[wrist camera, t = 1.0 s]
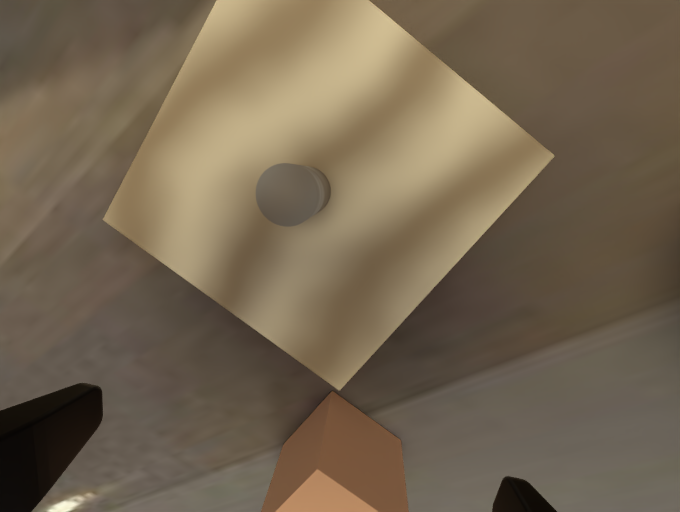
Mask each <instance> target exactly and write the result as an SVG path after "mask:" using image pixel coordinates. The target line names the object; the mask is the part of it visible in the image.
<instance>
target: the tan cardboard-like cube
mask: <svg viewBox="0 0 680 512" xmlns="http://www.w3.org/2000/svg"><path fill="white" fill-rule="evenodd" d="M261 512H408V502H407V493H406V483H405V474H404V464H403V455H402V446H401V440H400V439H399V438H397V437H396V436H394V435H393V434H392V433H390V432H389V431H387V430H386V429H385V428H383V427H382V426H381V425H379V424H378V423H376V422H375V421H374V420H372V419H371V418H369V417H368V416H367V415H365V414H364V413H363V412H361V411H360V410H358V409H357V408H356V407H354V406H353V405H351V404H350V403H349V402H347V401H346V400H344V399H343V398H342V397H340V396H339V395H338V394H336V393H335V392H333V391H331V393H330V394H329V395H328V396H327V397H326V398H325V399H324V400H323V401H322V402H321V404H320V405H319V406H318V407H317V408H316V409H315V410H314V411H313V412H312V413H311V415H310V416H309V417H308V418H307V419H306V420H305V421H304V422H303V423H302V424H301V426H300V427H299V428H298V429H297V430H296V431H295V432H294V433H293V434H292V435H291V437H290V438H289V439H288V440H287V441H286V442H285V443H284V444H283V447H282V450H281V453H280V456H279V459H278V462H277V465H276V468H275V471H274V474H273V477H272V480H271V483H270V486H269V489H268V492H267V495H266V498H265V501H264V504H263V507H262V510H261Z"/></svg>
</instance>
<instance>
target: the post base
mask: <svg viewBox="0 0 680 512" xmlns="http://www.w3.org/2000/svg"><path fill="white" fill-rule="evenodd" d="M553 157H554V155H553V154H552V153H551V152H550V151H548V150H547V149H546V148H545V147H544V146H542V145H541V144H540V143H539V142H538V141H536V140H535V139H534V138H533V137H532V136H530V135H529V134H528V133H527V132H526V131H525V130H523V129H522V128H521V127H520V126H519V125H517V124H516V123H515V122H514V121H513V120H511V119H510V118H509V117H508V116H507V115H505V114H504V113H503V112H502V111H501V110H499V109H498V108H497V107H496V106H495V105H493V104H492V103H491V102H490V101H489V100H487V99H486V98H485V97H484V96H483V95H481V94H480V93H479V92H478V91H477V90H475V89H474V88H473V87H472V86H471V85H469V84H468V83H467V82H466V81H465V80H463V79H462V78H461V77H460V76H459V75H458V74H456V73H455V72H454V71H453V70H452V69H450V68H449V67H448V66H447V65H446V64H444V63H443V62H442V61H441V60H440V59H438V58H437V57H436V56H435V55H434V54H432V53H431V52H430V51H429V50H428V49H426V48H425V47H424V46H423V45H422V44H420V43H419V42H418V41H417V40H416V39H414V38H413V37H412V36H411V35H410V34H408V33H407V32H406V31H405V30H404V29H402V28H401V27H400V26H399V25H398V24H397V23H395V22H394V21H393V20H392V19H391V18H389V17H388V16H387V15H386V14H385V13H383V12H382V11H381V10H380V9H379V8H377V7H376V6H375V5H374V4H373V3H371V2H370V1H369V0H217V1H216V3H215V5H214V7H213V9H212V11H211V12H210V14H209V16H208V18H207V20H206V22H205V24H204V26H203V28H202V30H201V32H200V34H199V36H198V38H197V39H196V41H195V43H194V45H193V47H192V49H191V51H190V53H189V55H188V57H187V59H186V61H185V63H184V64H183V66H182V68H181V70H180V72H179V74H178V76H177V78H176V80H175V82H174V84H173V86H172V88H171V89H170V91H169V93H168V95H167V97H166V99H165V101H164V103H163V105H162V107H161V109H160V111H159V113H158V114H157V116H156V118H155V120H154V122H153V124H152V126H151V128H150V130H149V132H148V134H147V136H146V138H145V140H144V141H143V143H142V145H141V147H140V149H139V151H138V153H137V155H136V157H135V159H134V161H133V163H132V165H131V166H130V168H129V170H128V172H127V174H126V176H125V178H124V180H123V182H122V184H121V186H120V188H119V190H118V191H117V193H116V195H115V197H114V199H113V201H112V203H111V205H110V207H109V209H108V211H107V213H106V215H105V217H104V218H103V220H104V221H105V222H107V223H108V224H109V225H111V226H112V227H113V228H115V229H116V230H118V231H119V232H120V233H122V234H123V235H125V236H126V237H127V238H129V239H130V240H131V241H133V242H134V243H136V244H137V245H138V246H140V247H141V248H143V249H144V250H145V251H147V252H148V253H149V254H151V255H152V256H154V257H155V258H156V259H158V260H159V261H161V262H162V263H163V264H165V265H166V266H167V267H169V268H170V269H172V270H173V271H174V272H176V273H177V274H179V275H180V276H181V277H183V278H184V279H185V280H187V281H188V282H190V283H191V284H192V285H194V286H195V287H197V288H198V289H199V290H201V291H202V292H203V293H205V294H206V295H208V296H209V297H210V298H212V299H213V300H215V301H216V302H217V303H219V304H220V305H221V306H223V307H224V308H226V309H227V310H228V311H230V312H231V313H233V314H234V315H235V316H237V317H238V318H239V319H241V320H242V321H244V322H245V323H246V324H248V325H249V326H251V327H252V328H253V329H255V330H256V331H257V332H259V333H260V334H262V335H263V336H264V337H266V338H267V339H269V340H270V341H271V342H273V343H274V344H275V345H277V346H278V347H280V348H281V349H282V350H284V351H285V352H287V353H288V354H289V355H291V356H292V357H293V358H295V359H296V360H298V361H299V362H300V363H302V364H303V365H305V366H306V367H307V368H309V369H310V370H311V371H313V372H314V373H316V374H317V375H318V376H320V377H321V378H323V379H324V380H325V381H327V382H328V383H329V384H331V385H332V386H334V387H335V388H336V389H338V390H339V391H340V390H341V388H342V387H343V386H344V385H345V384H346V383H347V382H348V381H349V380H350V379H351V378H352V377H353V375H354V374H355V373H356V372H357V371H358V370H359V369H360V368H361V367H362V366H363V365H364V363H365V362H366V361H367V360H368V359H369V358H370V357H371V356H372V355H373V354H374V353H375V351H376V350H377V349H378V348H379V347H380V346H381V345H382V344H383V343H384V342H385V341H386V339H387V338H388V337H389V336H390V335H391V334H392V333H393V332H394V331H395V330H396V329H397V327H398V326H399V325H400V324H401V323H402V322H403V321H404V320H405V319H406V318H407V317H408V315H409V314H410V313H411V312H412V311H413V310H414V309H415V308H416V307H417V306H418V305H419V303H420V302H421V301H422V300H423V299H424V298H425V297H426V296H427V295H428V294H429V293H430V291H431V290H432V289H433V288H434V287H435V286H436V285H437V284H438V283H439V282H440V281H441V279H442V278H443V277H444V276H445V275H446V274H447V273H448V272H449V271H450V270H451V269H452V267H453V266H454V265H455V264H456V263H457V262H458V261H459V260H460V259H461V258H462V257H463V255H464V254H465V253H466V252H467V251H468V250H469V249H470V248H471V247H472V246H473V245H474V243H475V242H476V241H477V240H478V239H479V238H480V237H481V236H482V235H483V234H484V233H485V231H486V230H487V229H488V228H489V227H490V226H491V225H492V224H493V223H494V222H495V221H496V219H497V218H498V217H499V216H500V215H501V214H502V213H503V212H504V211H505V210H506V209H507V208H508V206H509V205H510V204H511V203H512V202H513V201H514V200H515V199H516V198H517V197H518V196H519V194H520V193H521V192H522V191H523V190H524V189H525V188H526V187H527V186H528V185H529V184H530V182H531V181H532V180H533V179H534V178H535V177H536V176H537V175H538V174H539V173H540V172H541V170H542V169H543V168H544V167H545V166H546V165H547V164H548V163H549V162H550V161H551V160H552V158H553Z"/></svg>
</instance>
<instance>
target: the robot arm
mask: <svg viewBox="0 0 680 512" xmlns="http://www.w3.org/2000/svg"><path fill="white" fill-rule="evenodd" d="M102 417H103V405H102V390H101V388H100V387H99V386H96V385H91V384H87V383H79V384H76V385H73V386H70V387H67V388H64V389H61V390H58V391H56V392H53V393H50V394H47V395H44V396H41V397H38V398H35V399H33V400H30V401H27V402H24V403H21V404H18V405H15V406H12V407H10V408H7V409H4V410H1V411H0V512H31V511H32V510H33V509H34V508H35V507H36V506H37V504H38V503H39V502H40V501H41V500H42V499H43V497H44V496H45V495H46V494H47V492H48V491H49V490H50V489H51V488H52V486H53V485H54V484H55V482H56V481H57V480H58V479H59V477H60V476H61V475H62V473H63V472H64V471H65V470H66V468H67V467H68V466H69V464H70V463H71V462H72V461H73V459H74V458H75V457H76V455H77V454H78V453H79V452H80V450H81V449H82V448H83V446H84V445H85V444H86V443H87V441H88V440H89V439H90V437H91V436H92V435H93V434H94V432H95V431H96V430H97V428H98V427H99V425H100V423H101V421H102ZM492 512H557V511H556V510H555V509H554V508H553V507H552V506H551V505H550V504H549V503H548V502H547V501H546V500H545V499H544V498H543V497H542V496H541V495H540V494H539V493H538V492H537V491H536V489H535V488H534V487H533V486H532V485H531V484H530V483H528V482H527V481H525V480H523V479H519V478H514V477H510V476H506V477H505V478H503V480H502V482H501V485H500V487H499V490H498V493H497V495H496V498H495V501H494V503H493V509H492Z"/></svg>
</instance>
